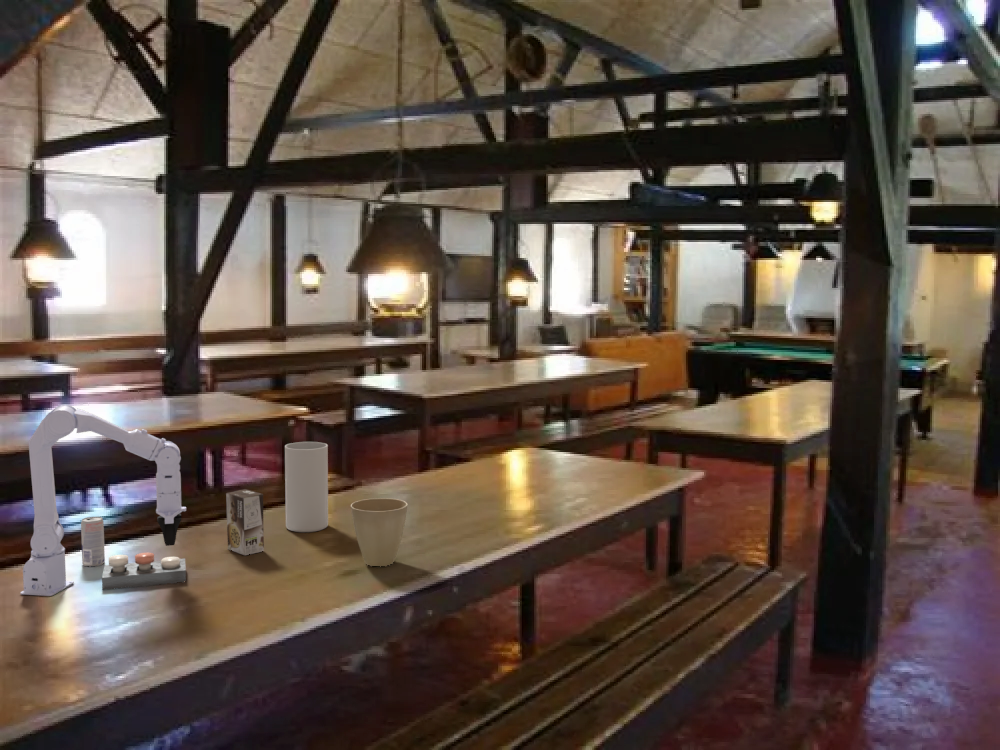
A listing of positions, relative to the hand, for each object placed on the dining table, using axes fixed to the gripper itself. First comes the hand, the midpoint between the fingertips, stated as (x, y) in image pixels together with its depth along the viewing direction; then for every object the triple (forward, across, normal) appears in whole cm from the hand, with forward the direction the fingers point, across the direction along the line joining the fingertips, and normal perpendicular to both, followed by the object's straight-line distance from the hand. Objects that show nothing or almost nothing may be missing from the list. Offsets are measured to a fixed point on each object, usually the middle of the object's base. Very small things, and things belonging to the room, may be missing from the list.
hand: (170, 544), depth 229 cm
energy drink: (+9, +17, +19) cm, 27 cm away
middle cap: (+6, 0, +6) cm, 9 cm away
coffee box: (+9, +18, -20) cm, 28 cm away
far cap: (+8, 0, 0) cm, 8 cm away
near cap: (+6, 0, +12) cm, 14 cm away
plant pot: (+8, -4, -52) cm, 53 cm away
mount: (+8, 0, +6) cm, 10 cm away
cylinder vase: (+8, +36, -39) cm, 54 cm away
